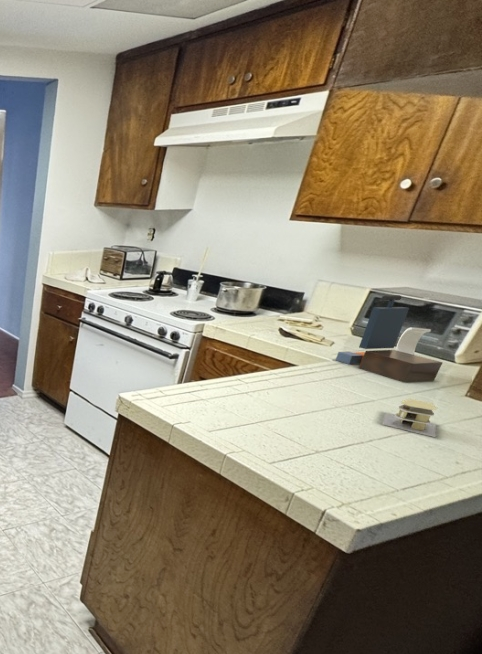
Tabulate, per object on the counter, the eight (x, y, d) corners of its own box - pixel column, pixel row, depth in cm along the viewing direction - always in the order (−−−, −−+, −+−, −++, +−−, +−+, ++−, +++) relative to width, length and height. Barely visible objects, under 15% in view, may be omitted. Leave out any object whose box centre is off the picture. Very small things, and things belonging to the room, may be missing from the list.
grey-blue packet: (345, 359, 163) (359, 363, 159) (335, 360, 162) (348, 364, 158) (349, 351, 162) (363, 355, 158) (338, 351, 161) (352, 355, 157)
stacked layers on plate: (385, 413, 120) (394, 393, 118) (435, 425, 114) (446, 404, 112) (381, 424, 114) (391, 403, 112) (435, 437, 108) (446, 416, 106)
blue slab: (414, 296, 148) (403, 294, 151) (384, 296, 146) (375, 295, 149) (393, 348, 154) (384, 345, 157) (365, 349, 152) (356, 346, 155)
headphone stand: (397, 361, 162) (412, 327, 157) (391, 357, 167) (405, 324, 162) (415, 363, 160) (431, 329, 155) (408, 359, 165) (424, 326, 160)
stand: (433, 380, 144) (442, 362, 142) (404, 382, 142) (412, 363, 140) (386, 366, 156) (393, 349, 154) (358, 368, 154) (365, 350, 152)
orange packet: (360, 360, 162) (374, 364, 158) (349, 360, 162) (363, 364, 158) (363, 352, 161) (378, 356, 157) (353, 352, 161) (367, 356, 157)
